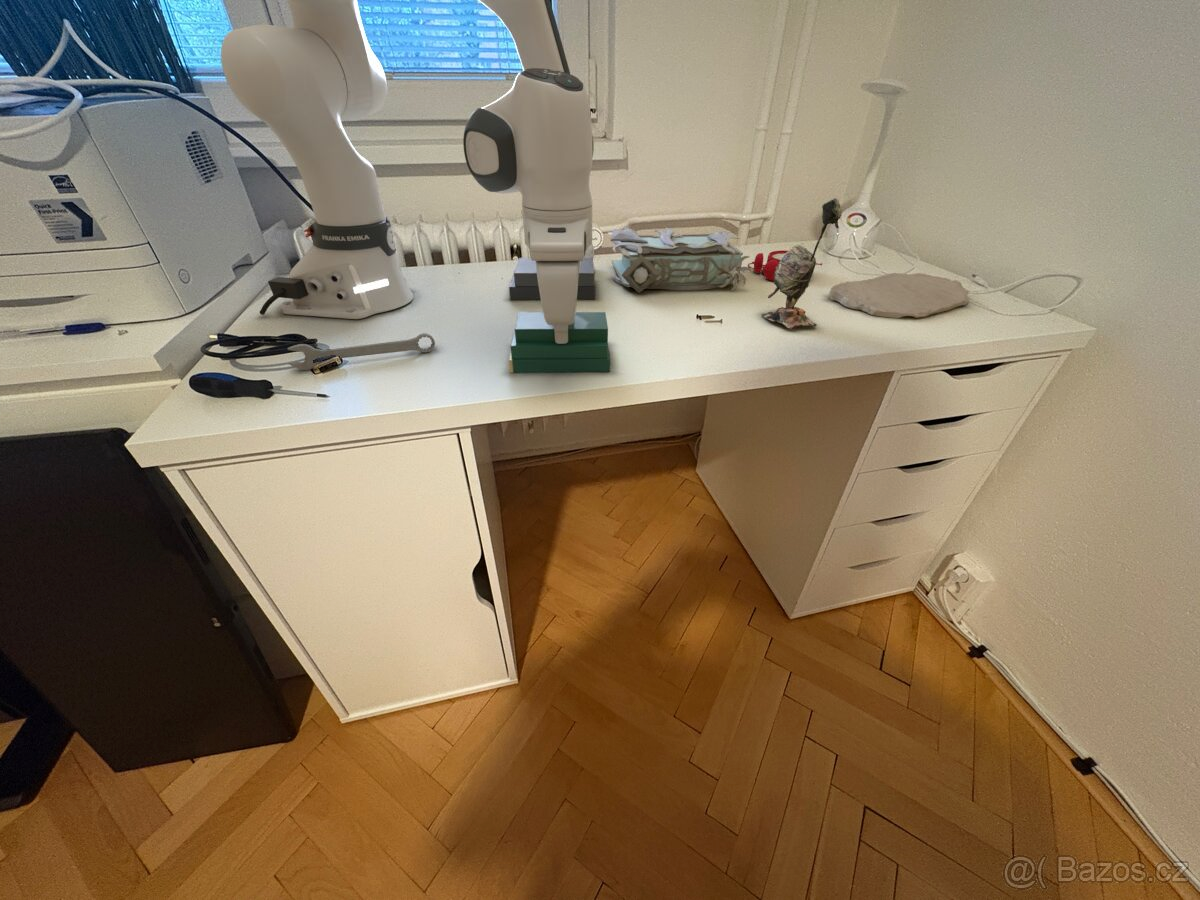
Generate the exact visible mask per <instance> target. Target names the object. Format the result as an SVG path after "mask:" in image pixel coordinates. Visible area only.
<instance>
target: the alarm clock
mask: <svg viewBox="0 0 1200 900" xmlns="http://www.w3.org/2000/svg"><path fill="white" fill-rule="evenodd" d="M787 251H788V250H786V249H785V250H784V249H783V250H774V251H771V252H769V253H768V255H767V260H766V263H765V264H764V253H763V252H758V253H757V254H755V258H754V261H751V262H750V263H747V267H749V268H751V270H752V271H754V272H755V273H756V274H761V272H762V274H763V276H764V278H765V279H766V280H768V281H773V282H774V275H775V271H776V267H777V266H778V264H779V262H780V261H781V259H782V258H783V257H784V255H785V254H786V253H787ZM750 265H753V267H752V266H750ZM816 265H817V266H823V263H822V262H821V263H817V262H816ZM816 265H815V266H816Z"/></svg>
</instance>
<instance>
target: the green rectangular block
mask: <svg viewBox="0 0 1200 900" xmlns="http://www.w3.org/2000/svg"><path fill="white" fill-rule="evenodd" d="M515 326H516V324H515V325H514V327H515ZM509 347H510V352H509V353H510V354H509V357H508V367H509V373H511V374H513V373H514V374H516V373H517V374H518V373H519V374H520V373H523V374H525V373H610V372H611V356H610V348H609V347H610V346H609V341H608V342H567V343H566V344H557V343H556V342H533V343H516V338H515V328H514V330H513V334H512V339H511V342H510V346H509Z"/></svg>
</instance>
